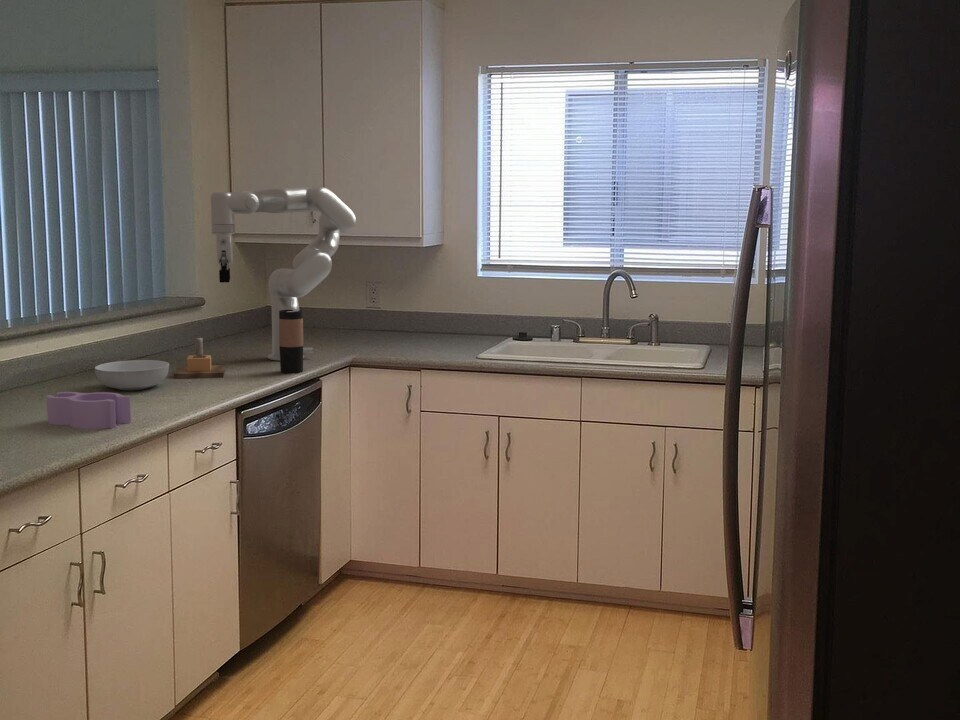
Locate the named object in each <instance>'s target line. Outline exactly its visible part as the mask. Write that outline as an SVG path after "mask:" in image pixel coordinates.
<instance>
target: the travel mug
mask: <svg viewBox="0 0 960 720" xmlns="http://www.w3.org/2000/svg"><path fill="white" fill-rule="evenodd" d="M303 312H304V311H303V310H301V309H299V311H293V310H280V311H279V348H280V361H279V364H280V372H282V373H281V374H287V373H295V374H301V373H303V372H304V358H303V347H304V319H303V318H304V317H303ZM300 372H301V373H300Z"/></svg>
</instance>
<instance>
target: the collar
mask: <svg viewBox="0 0 960 720" xmlns="http://www.w3.org/2000/svg"><path fill="white" fill-rule="evenodd" d="M211 365H212V355H211V354H207V355H205V354H203V358H195V354H193V355H188V356H187V358H186V366H187V371H210V370H211Z"/></svg>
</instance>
